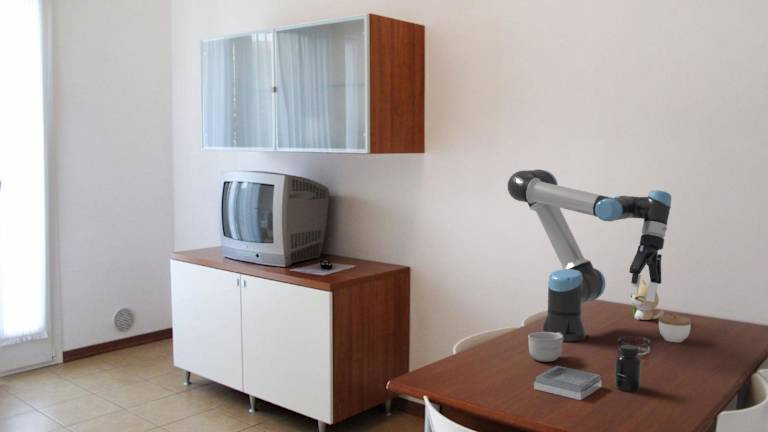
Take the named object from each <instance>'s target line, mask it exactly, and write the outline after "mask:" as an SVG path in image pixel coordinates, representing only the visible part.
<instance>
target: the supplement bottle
mask: <svg viewBox="0 0 768 432" xmlns="http://www.w3.org/2000/svg"><path fill="white" fill-rule="evenodd" d="M619 353H620V354H618V355H617V356H616V358H615V371H614V372H615V373H614V386H615V388H616V389H618V390H620V391H623V392H629V393H630V392H632V393H633V392H636V391H639V390H640V386H641V374H642V373H641V372H642V371H641V370H642V359H641V358H640V357H639V347H638V346H635V345H633V344H632V345H631V344H622V345H621V346H620V351H619Z"/></svg>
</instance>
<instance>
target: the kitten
mask: <svg viewBox="0 0 768 432" xmlns="http://www.w3.org/2000/svg"><path fill="white" fill-rule="evenodd" d="M647 291H648V285H647V284H646V282H645V280H644V279H640V285H639V290H638V295H636V294H631V295H630V298H631V304H632V305H633V309H632V310H633V316H634V319H635V320H637V321H639V320H642V321H649V320H655V319H659V317H660V316H663V315H665V312H664V310H662V309H660V310H659V311H658V312H657V314H655V315H654V314H653V311H652V310H654V309H656V308H657V307H658V305H659V302H660V301H659V294H658V292H657V291H656V296H655V301H654V302H650V301H646V297H647Z"/></svg>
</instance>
